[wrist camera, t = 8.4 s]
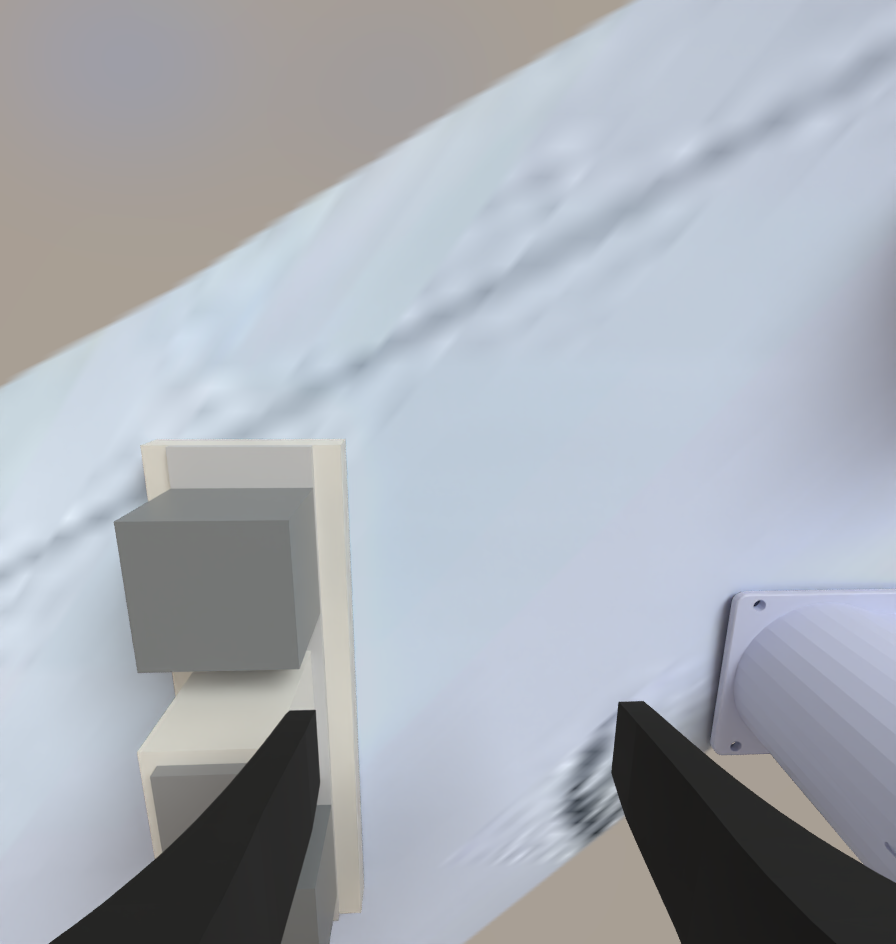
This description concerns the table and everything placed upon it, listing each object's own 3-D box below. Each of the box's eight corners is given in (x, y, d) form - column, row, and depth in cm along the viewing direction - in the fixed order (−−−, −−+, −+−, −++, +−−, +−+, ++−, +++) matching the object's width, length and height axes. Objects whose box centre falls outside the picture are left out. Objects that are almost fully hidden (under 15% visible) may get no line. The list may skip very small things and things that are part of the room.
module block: (310, 650, 20) (271, 758, 15) (319, 778, 22) (286, 916, 16) (205, 653, 20) (129, 763, 15) (221, 781, 22) (156, 922, 16)
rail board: (345, 438, 20) (320, 470, 15) (364, 886, 25) (349, 1016, 20) (157, 439, 19) (69, 471, 15) (216, 892, 25) (166, 1025, 20)
